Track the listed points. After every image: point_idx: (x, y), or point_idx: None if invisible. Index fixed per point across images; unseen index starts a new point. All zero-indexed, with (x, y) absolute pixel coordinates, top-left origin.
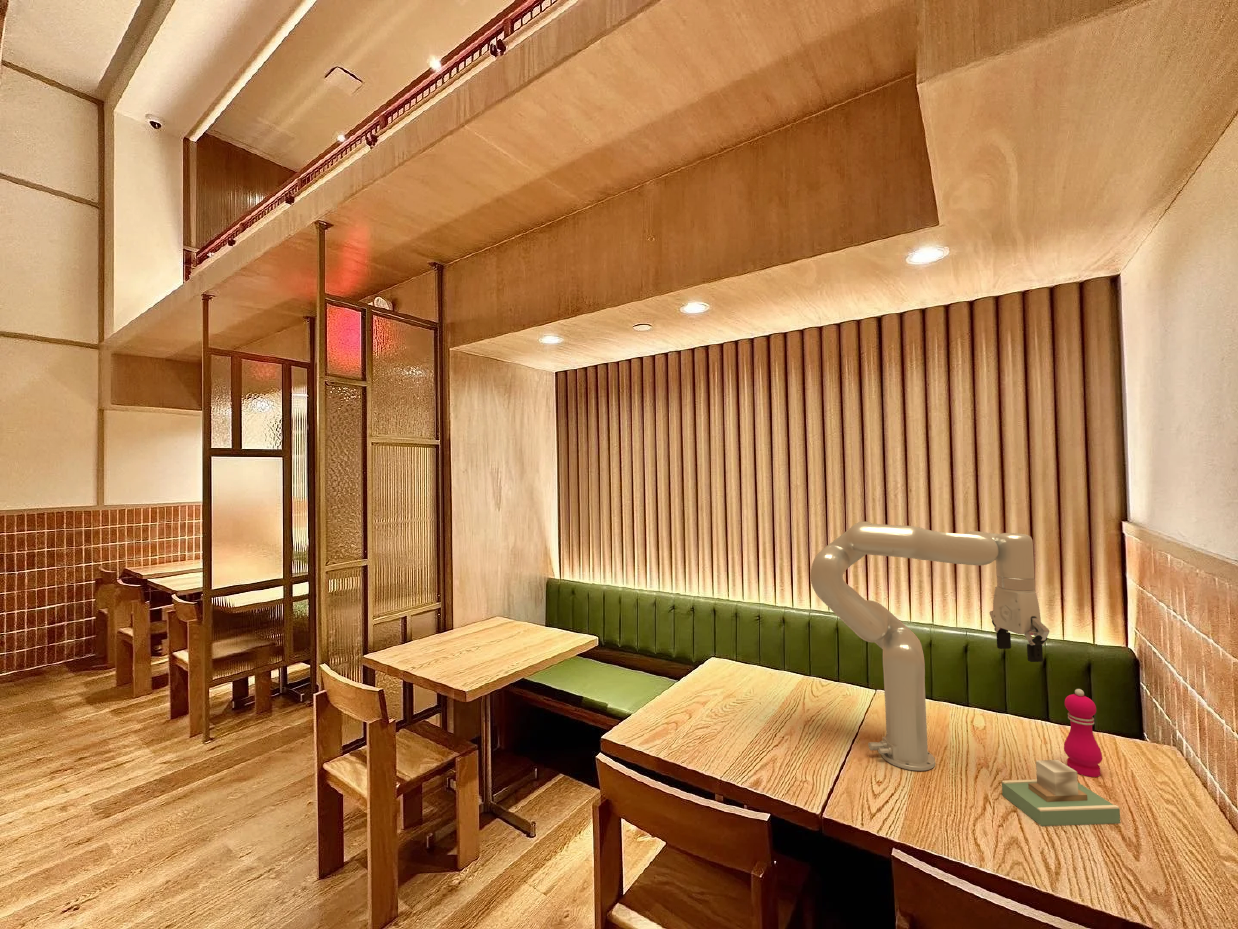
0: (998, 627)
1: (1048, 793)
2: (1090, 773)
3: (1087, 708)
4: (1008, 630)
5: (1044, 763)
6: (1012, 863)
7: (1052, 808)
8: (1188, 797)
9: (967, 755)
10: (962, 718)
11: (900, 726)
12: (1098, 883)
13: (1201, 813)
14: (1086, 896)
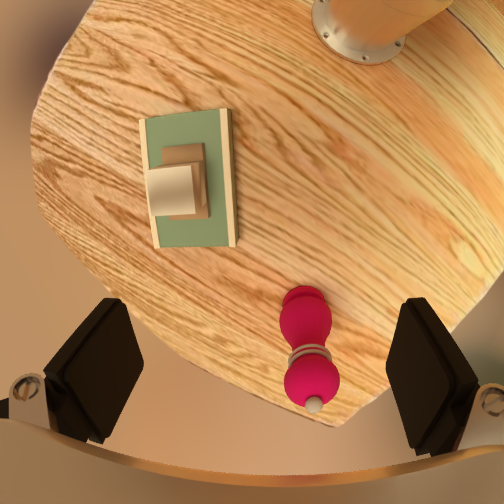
0: (479, 438)
1: (169, 157)
2: (284, 301)
3: (285, 382)
4: (201, 474)
5: (178, 175)
6: (87, 46)
7: (142, 141)
8: (231, 365)
9: (372, 141)
10: (483, 238)
11: None
12: (61, 123)
13: (197, 349)
14: (48, 100)
